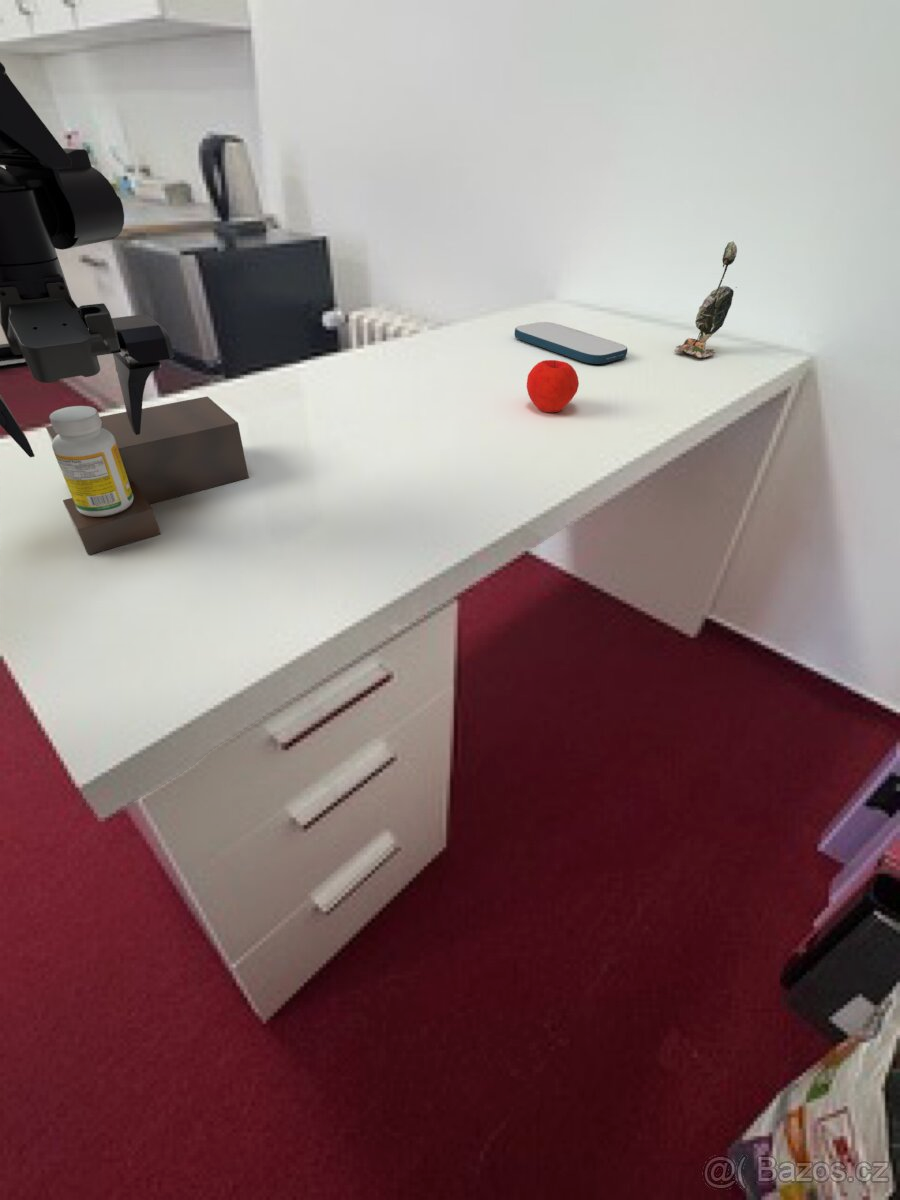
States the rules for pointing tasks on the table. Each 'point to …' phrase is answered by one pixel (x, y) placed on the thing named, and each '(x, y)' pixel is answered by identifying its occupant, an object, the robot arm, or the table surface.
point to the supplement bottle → (90, 462)
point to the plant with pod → (712, 312)
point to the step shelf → (163, 466)
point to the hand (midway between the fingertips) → (86, 444)
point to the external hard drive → (571, 342)
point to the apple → (552, 385)
